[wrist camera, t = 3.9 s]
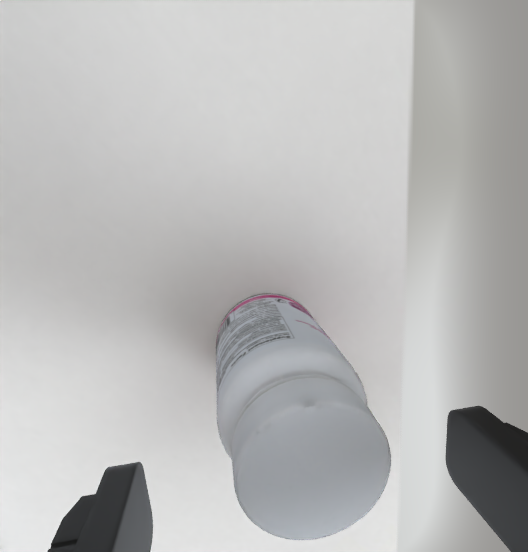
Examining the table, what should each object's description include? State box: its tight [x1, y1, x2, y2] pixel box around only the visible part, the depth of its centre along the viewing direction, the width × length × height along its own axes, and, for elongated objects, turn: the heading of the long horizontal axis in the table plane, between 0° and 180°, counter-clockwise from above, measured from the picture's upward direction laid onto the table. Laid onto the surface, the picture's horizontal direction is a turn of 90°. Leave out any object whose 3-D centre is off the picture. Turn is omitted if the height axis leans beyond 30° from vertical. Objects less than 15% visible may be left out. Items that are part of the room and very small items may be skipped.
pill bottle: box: [216, 294, 391, 540], centre depth 13 cm, size 5×5×8 cm
